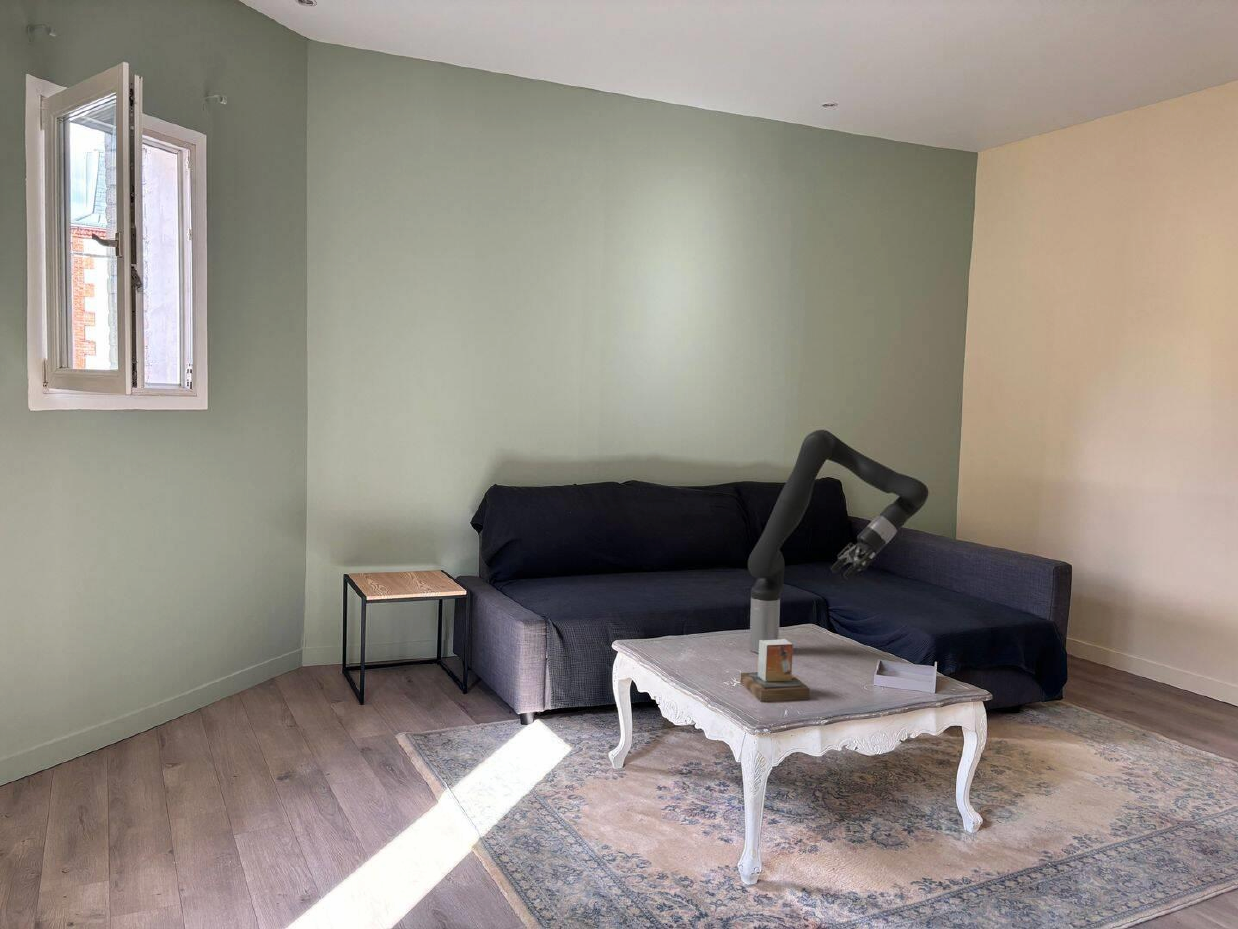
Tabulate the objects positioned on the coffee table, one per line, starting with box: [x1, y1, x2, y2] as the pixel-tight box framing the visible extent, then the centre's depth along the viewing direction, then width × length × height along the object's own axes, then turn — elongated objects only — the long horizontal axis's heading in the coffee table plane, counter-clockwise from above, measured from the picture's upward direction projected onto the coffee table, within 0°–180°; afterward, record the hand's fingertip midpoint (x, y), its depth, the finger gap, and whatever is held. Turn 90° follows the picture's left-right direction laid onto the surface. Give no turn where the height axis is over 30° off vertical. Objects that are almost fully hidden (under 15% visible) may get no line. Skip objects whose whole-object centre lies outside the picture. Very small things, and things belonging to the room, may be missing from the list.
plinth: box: [740, 671, 811, 703], centre depth 263 cm, size 16×14×3 cm
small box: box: [757, 638, 794, 682], centre depth 263 cm, size 8×6×10 cm
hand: (839, 574), depth 274 cm, fingers open, 8 cm apart
